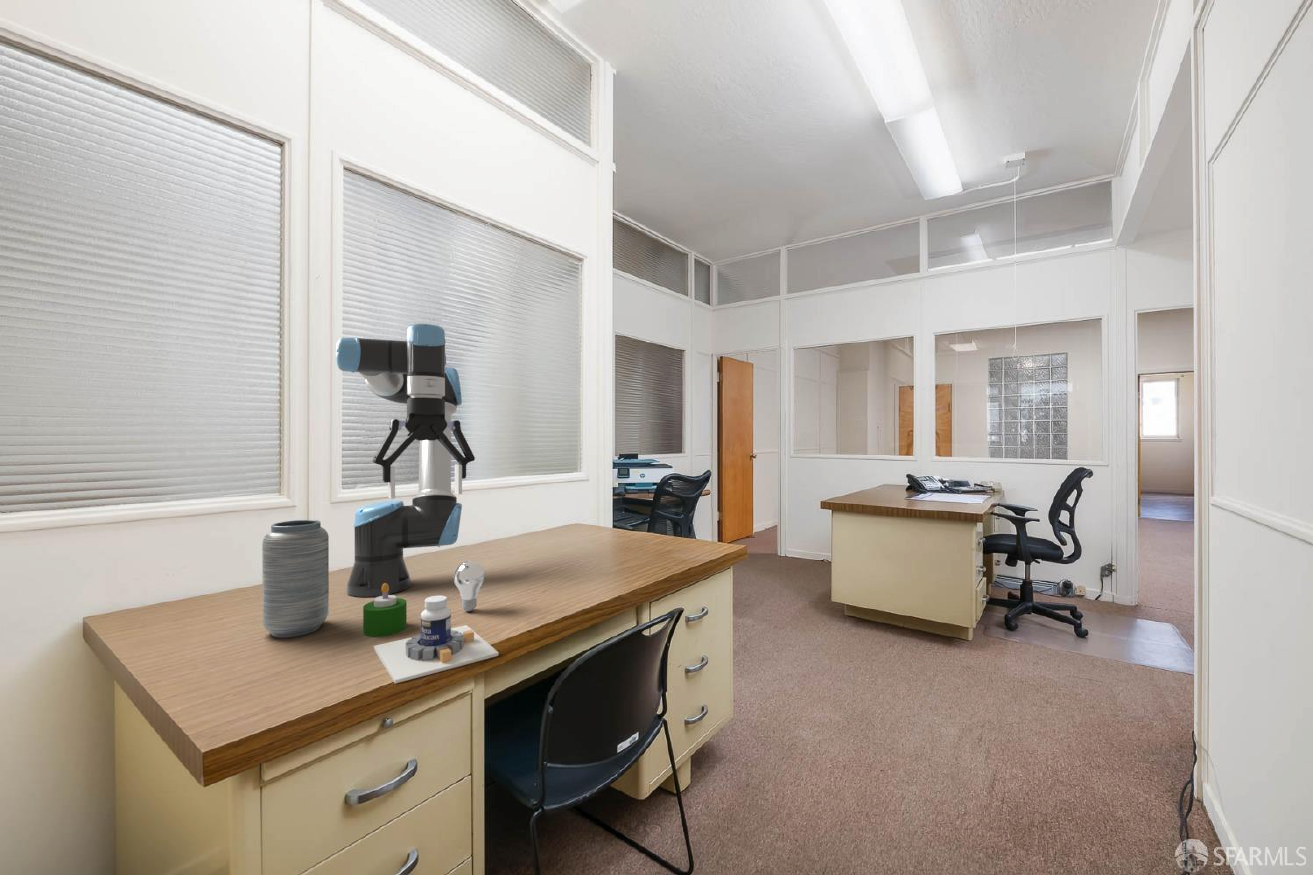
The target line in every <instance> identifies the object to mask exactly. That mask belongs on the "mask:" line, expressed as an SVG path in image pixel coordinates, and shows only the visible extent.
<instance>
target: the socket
mask: <svg viewBox="0 0 1313 875" xmlns="http://www.w3.org/2000/svg"><path fill="white" fill-rule="evenodd" d="M373 650H374V652H375V654H376V655H377V657H378V658H379V660H380V661H381V663H382V665H383V666H384V668H385V669H386V671H387V673H388V675H389V676H390V678H391V679H392V681H393V683H394V684H399V683H402V682H406V681H412V680H413V679H418V678H422V677H424V676H428V675H432V674H436V673H440V672H444V671H447V670H451V669H454V668H459V667H462V666H465V665H470V664H474V663H476V662H481V661H484V660H488V659H491V658H496V657H498V656H499V654H500V653H499V652H498V651H497V649H496V648H494V647H493V646H492V645H491V644H489V643H488V642H487V641H486V640H485V639H484V638H482V637H481V636H480V635H479V634H478V633H477V632H475V630H473V629H472V628H471V627H469V625H467V624H465V625H460V626H456V627H451V641H449V642H447V643H445V644H442V645H438V646H428V647H426V646H421V633H420V634H419V633H418V634H416V635H414V636H411V637H408V638H403V639H398V640H394V641H390V642H386V643H381V644H377V645H373Z"/></svg>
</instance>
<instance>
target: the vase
mask: <svg viewBox="0 0 1313 875" xmlns="http://www.w3.org/2000/svg"><path fill="white" fill-rule="evenodd" d="M329 536H330V535H329V533H328V531H327V530H326V528H324V527H322V524H321V521H320V520H317V519H298V520H296V519H295V520H285V521H280V522H275V523H273V524H272V525H271V527H270V531H269V532H267V533H266V534H265V536H264V537H263V539H262V544H261V545H262V547H261V549H262V566H261V567H262V568H261V569H262V574H261V575H262V626H263V628H264V629H265V630H266V631H267V632H268V633H271V636H272V637H274V638H277V639H278V638H281V639H283V638H284V639H287V638H296V637H301V636H305V635H308V634H312V633H314V632H315V631H317V630H319V629H320V628H321V626H322V624H323V623H324V622H325V621H326V619H327V618H328V616H329V614H330V613H329V609H330V608H329V607H330V603H329V600H330V599H329V598H330V597H329V595H330V594H329V593H330V592H329V591H330V590H329V589H330V588H329V587H330V585H329V582H330V581H329V580H330V578H329V575H330V574H329V572H330V571H329V569H330V568H329V567H330V566H329V565H330V564H329V561H330V560H329V558H330V557H329V555H330V554H329V550H330V548H329V546H330V545H329V542H330V541H329V540H330V539H329Z"/></svg>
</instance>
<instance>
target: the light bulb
mask: <svg viewBox="0 0 1313 875" xmlns="http://www.w3.org/2000/svg"><path fill="white" fill-rule="evenodd" d="M485 575H486V572H485V570H484V567H483V565H482V564H481V563H479V562H477V561H474V560H466V561H463V562H461V563H459V565H458V566H457V567H456V569H455V570H454V573H453V583H454V585H455V586H456V588H457V590H458V591H459V594H460V598H461V599H462V600H461V607H462V610H464V611H465V612H467V613H471V612H473V611H474V610H475V609H476V608H477V604H478V602H477V601H478V600H477V598H478V595H479V591H480V588H481V587H482V585H483V583H484V582H485V577H486V576H485Z"/></svg>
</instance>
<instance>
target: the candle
mask: <svg viewBox="0 0 1313 875" xmlns="http://www.w3.org/2000/svg"><path fill="white" fill-rule="evenodd" d="M381 590H382V595H381V596H376V597H375V598H373V600H372V601H369V602H367V603H365V604H364V605H363V609H362V610H363V611H362V612H363V613H362V615H363V616H362V617H363V620H362V621H363V622H362V624H363V626H362V628H363V629H362V630H363V635H365V636H366V637H370V638H371V637H373V638H375V637H376V638H377V637H381V638H382V637H387V636H392V635H395V634H398V633H401V632H403V631H404V630H406V628H407V616H408V615H407V611H408V610H407V600H406V599H405V598H401V597H400V598H399V597H397V596H396V595H395V594H388V591H389V586H388V584H387V583H384V584H383V585H382V589H381Z"/></svg>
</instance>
